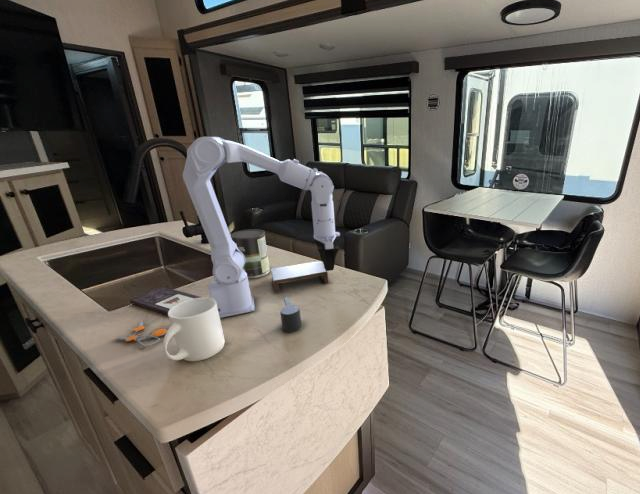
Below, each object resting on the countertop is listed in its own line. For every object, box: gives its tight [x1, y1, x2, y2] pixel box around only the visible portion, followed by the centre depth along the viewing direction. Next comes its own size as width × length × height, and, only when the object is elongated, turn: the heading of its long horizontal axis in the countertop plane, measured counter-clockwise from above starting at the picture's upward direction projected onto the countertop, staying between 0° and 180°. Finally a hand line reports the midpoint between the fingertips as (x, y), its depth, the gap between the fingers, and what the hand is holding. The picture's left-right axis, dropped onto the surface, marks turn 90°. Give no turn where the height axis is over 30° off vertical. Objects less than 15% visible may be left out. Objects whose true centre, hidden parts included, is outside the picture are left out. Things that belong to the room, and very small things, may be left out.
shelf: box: [270, 260, 329, 294], centre depth 102 cm, size 16×10×4 cm, turn 116°
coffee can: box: [230, 228, 271, 280], centre depth 107 cm, size 10×10×14 cm
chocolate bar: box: [129, 286, 203, 316], centre depth 89 cm, size 9×1×18 cm
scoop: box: [279, 296, 302, 333], centre depth 79 cm, size 9×4×5 cm, turn 25°
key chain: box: [116, 320, 168, 348], centre depth 75 cm, size 13×7×1 cm, turn 65°
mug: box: [162, 297, 226, 362], centre depth 66 cm, size 9×12×11 cm
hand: (327, 265), depth 90 cm, fingers open, 7 cm apart
